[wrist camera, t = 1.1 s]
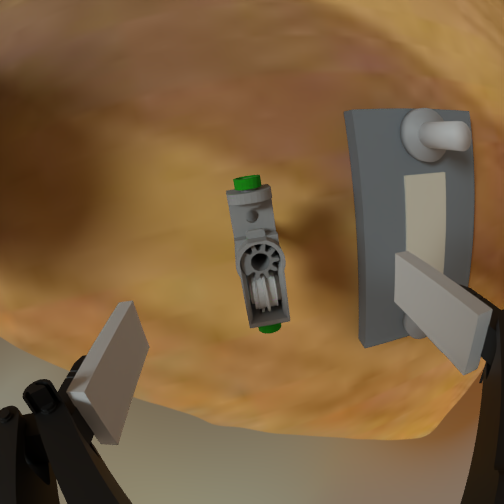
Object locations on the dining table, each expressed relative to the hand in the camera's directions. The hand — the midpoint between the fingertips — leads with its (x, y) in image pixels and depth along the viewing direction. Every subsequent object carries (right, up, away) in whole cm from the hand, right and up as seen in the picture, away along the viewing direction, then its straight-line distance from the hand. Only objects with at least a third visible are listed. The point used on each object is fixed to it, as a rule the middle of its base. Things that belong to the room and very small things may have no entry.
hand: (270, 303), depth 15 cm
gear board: (+16, +5, +15) cm, 22 cm away
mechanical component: (-1, +5, +14) cm, 15 cm away
